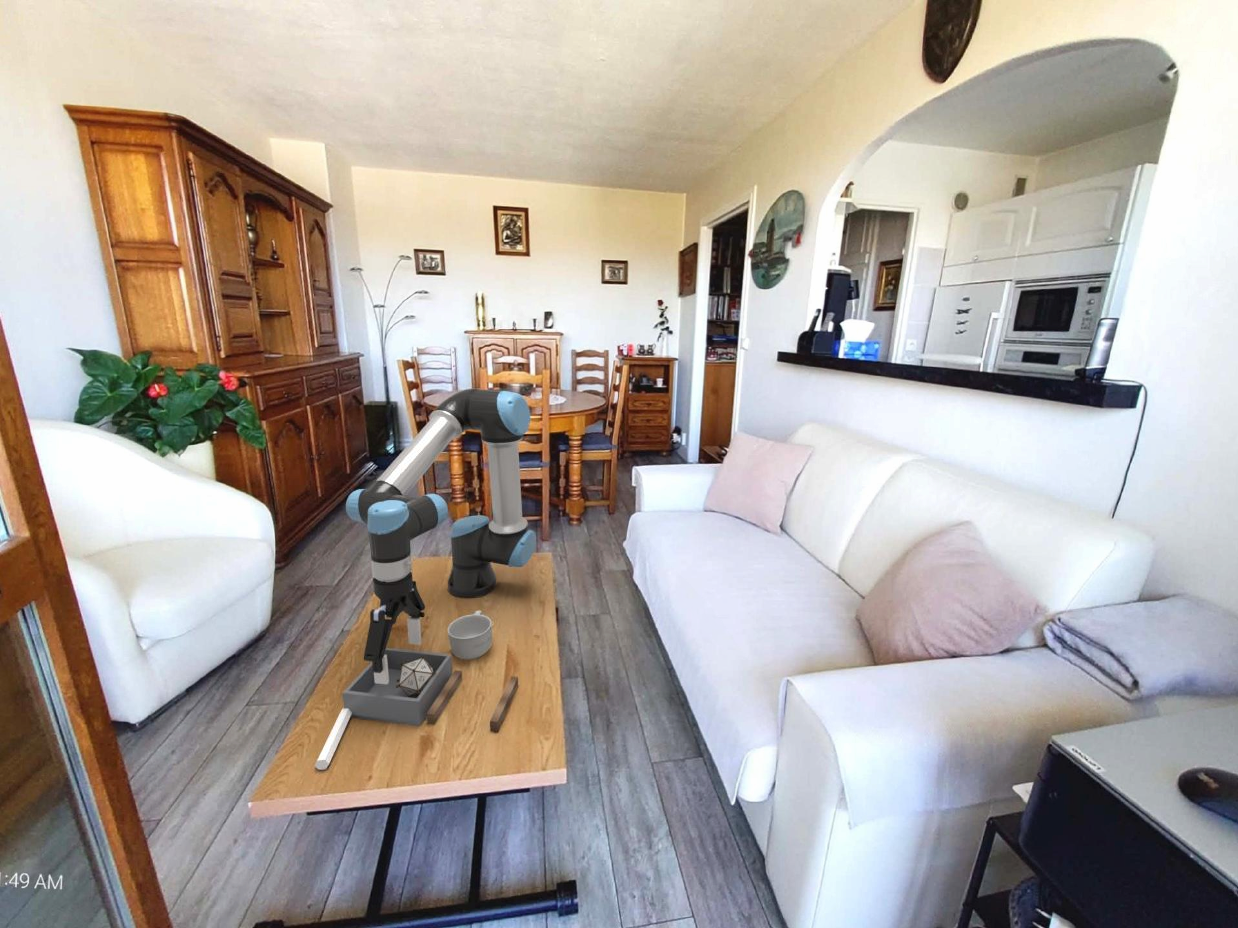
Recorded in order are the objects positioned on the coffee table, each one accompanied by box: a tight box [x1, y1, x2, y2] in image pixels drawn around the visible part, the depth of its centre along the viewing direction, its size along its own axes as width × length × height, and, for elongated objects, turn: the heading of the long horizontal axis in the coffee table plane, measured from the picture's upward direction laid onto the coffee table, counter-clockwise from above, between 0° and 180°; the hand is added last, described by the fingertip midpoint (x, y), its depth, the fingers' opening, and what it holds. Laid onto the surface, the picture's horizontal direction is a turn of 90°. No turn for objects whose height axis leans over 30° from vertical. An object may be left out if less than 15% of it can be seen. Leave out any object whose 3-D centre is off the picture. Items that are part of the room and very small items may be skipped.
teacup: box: [446, 610, 493, 660], centre depth 126 cm, size 14×11×8 cm
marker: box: [314, 707, 352, 771], centre depth 98 cm, size 3×2×16 cm
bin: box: [341, 647, 454, 727], centre depth 109 cm, size 16×17×6 cm
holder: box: [426, 669, 519, 733], centre depth 108 cm, size 14×15×2 cm
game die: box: [395, 654, 436, 698], centre depth 108 cm, size 9×8×10 cm
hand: (399, 661), depth 108 cm, fingers open, 13 cm apart
